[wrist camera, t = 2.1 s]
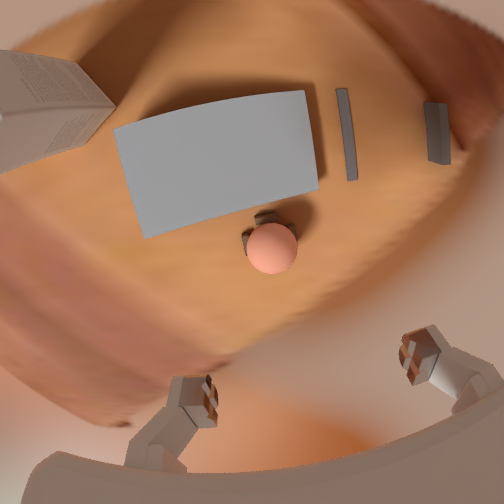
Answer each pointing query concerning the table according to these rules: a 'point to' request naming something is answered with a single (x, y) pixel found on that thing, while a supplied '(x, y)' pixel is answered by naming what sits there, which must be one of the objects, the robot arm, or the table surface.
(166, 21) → the table surface
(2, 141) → the skincare box
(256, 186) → the ramp
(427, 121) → the rail
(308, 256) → the table surface
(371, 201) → the table surface
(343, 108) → the line
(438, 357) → the robot arm
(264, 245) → the ball
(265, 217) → the stand
